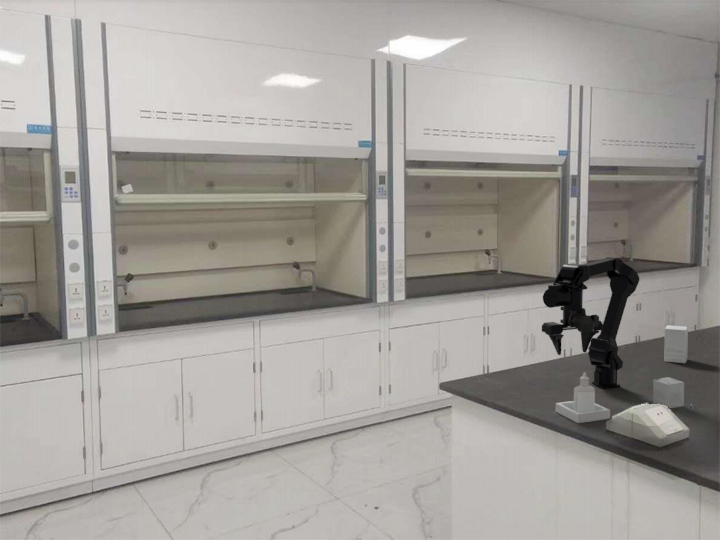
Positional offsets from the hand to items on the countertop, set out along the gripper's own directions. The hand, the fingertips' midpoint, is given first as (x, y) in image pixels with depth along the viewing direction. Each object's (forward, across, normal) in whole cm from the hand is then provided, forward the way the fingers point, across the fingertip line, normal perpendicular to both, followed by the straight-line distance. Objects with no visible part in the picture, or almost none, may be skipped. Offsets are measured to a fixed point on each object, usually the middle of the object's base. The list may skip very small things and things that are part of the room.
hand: (571, 353), depth 200 cm
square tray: (+13, -9, -18) cm, 24 cm away
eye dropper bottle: (+13, -8, -18) cm, 24 cm away
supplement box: (+13, +60, +21) cm, 65 cm away
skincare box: (+13, +20, -19) cm, 31 cm away
